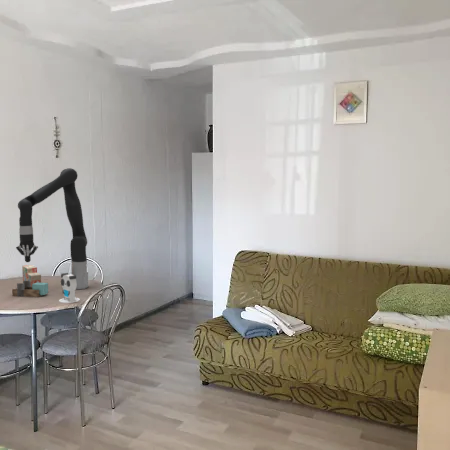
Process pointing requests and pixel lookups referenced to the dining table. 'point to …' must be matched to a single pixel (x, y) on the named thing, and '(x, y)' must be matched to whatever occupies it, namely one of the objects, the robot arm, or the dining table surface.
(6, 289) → the dining table surface
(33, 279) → the stack of blocks
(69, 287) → the panda figurine
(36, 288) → the block
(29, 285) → the wooden rail tray
